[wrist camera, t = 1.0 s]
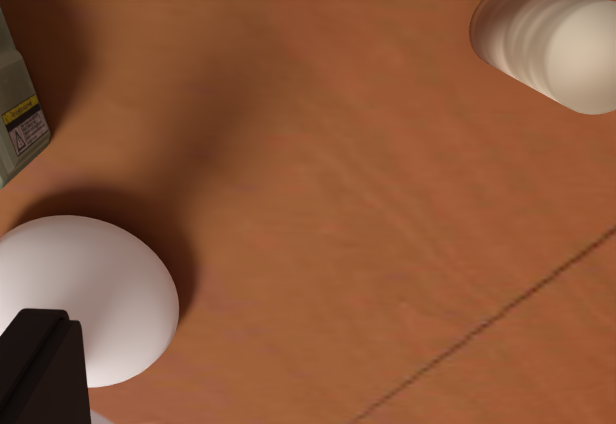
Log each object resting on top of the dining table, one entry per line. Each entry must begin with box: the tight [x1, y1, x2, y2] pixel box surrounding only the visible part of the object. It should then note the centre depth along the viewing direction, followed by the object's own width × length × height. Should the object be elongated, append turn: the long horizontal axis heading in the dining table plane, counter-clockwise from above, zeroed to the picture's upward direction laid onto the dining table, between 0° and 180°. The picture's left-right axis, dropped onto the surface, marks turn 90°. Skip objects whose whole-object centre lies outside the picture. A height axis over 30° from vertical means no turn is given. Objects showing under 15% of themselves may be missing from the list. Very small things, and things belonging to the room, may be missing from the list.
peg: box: [469, 0, 616, 114], centre depth 26 cm, size 4×4×10 cm
